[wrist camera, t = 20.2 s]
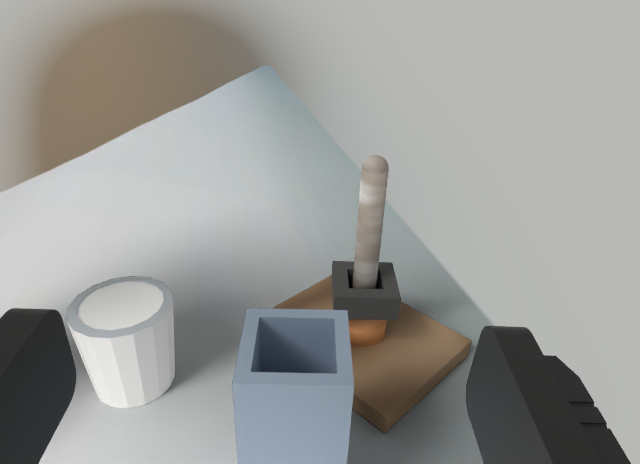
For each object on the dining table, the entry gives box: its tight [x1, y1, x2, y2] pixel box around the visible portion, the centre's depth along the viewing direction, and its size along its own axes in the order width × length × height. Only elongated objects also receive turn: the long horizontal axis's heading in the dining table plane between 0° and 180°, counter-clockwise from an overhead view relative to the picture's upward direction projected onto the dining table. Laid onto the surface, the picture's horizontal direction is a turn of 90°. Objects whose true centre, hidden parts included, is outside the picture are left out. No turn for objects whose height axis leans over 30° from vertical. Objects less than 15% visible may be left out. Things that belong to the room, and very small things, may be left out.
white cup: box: [66, 276, 175, 408], centre depth 36 cm, size 7×7×7 cm
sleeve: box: [232, 308, 354, 464], centre depth 27 cm, size 5×5×12 cm
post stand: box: [272, 155, 472, 433], centre depth 38 cm, size 14×11×16 cm
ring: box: [332, 261, 401, 320], centre depth 39 cm, size 5×5×2 cm
